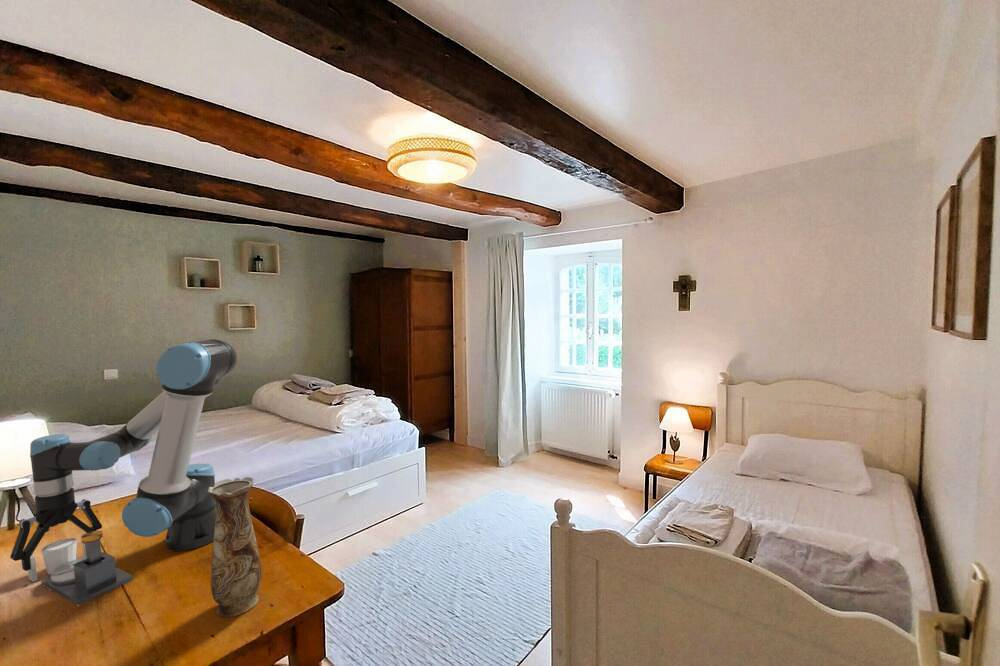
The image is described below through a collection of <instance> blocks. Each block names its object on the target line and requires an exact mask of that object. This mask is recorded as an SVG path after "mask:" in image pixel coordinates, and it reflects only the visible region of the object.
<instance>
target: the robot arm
mask: <svg viewBox="0 0 1000 666" xmlns="http://www.w3.org/2000/svg"><path fill="white" fill-rule="evenodd" d="M237 355H238V354H237V352H236V350H235V348H234V347H233V346H232V345H231V344H230V343H228V342H226V341H224V340H221V339H216V338H215V339H213V338H211V339H206V340H198V341H186V342H182V343H180V344H176V345H173V346H171V347H169V348H167V349H165V350H164V351H163V352H162V353H161V355H160V356H159V358H158V359H157V361H156V368H155V369H156V370H155V371H156V376H157V377H159V381H160V382H161V383H162V385H161V390H162V392H161V393H160V394H159V395H157V396H156V397H155V398H154V399H153V400H152V401H151V402H150V403H149V404H147V405H146V406H145V407H144V408H143V409H142V410H140V411H139V412H138V413H137V414H136V415H134V417H132V419H130V420H129V421H128V422H127V423H126V424H125V425H123V426H122V427H121V428H120V429H119V430H117V431H115V432H112V433H110V434H106V435H105V436H101V437H99V438H96V439H94V440H90V441H85V442H81V441H80V442H71V439H70V436H69V435H68V434H64V433H59V434H57V433H56V434H51V435H50V434H49V435H46V436H41V437H38V438H35V439H34V440H32V441H31V442H30V451H29V452H30V453H29V457H30V462H31V463H30V464H31V471H32V482H33V483H32V484H33V492H34V493H33V494H34V495H35V496H34V502H35V503H34V505H35V514H34V516H33V517H30V518H27V519H25V518H22V519H20V520H19V521H18V522H19V523H18V524H19V531H18V533H17V536H16V539H15V543H14V545H13V548H12V550H11V553H10V558H9V559H11V560H13V561H15V562H17V561H21V567H22V568H21V569H22V570H24V571H26V572H27V574H28V580H29V581H32V583H33V582H36V581H38V577H37V566H36V556H35V555H33V554H34V551H35V550H36V549H37V548H38V546H39V543H40V542H41V541H42V539H43V537H44V536H45V534H46V533H47V532H48V531H49V529H50V528H53V527H55V526H57V525H58V526H59V524H65V523H67V522H68V521H69V522H71V523H72V524H73V525H75V526H76V527H78V528H79V529H80V530H81V531H83V532H84V534H81V537H82V536H83V535H85V534H87V533H90V532H93V531H99V530H100V529H102V528H103V525H102V523H101V522H100V520H99V519H98V517H97V515H96V514H95V512H94V511H93V509H92V508H91V507H92V505H91V500H88V499H86V498H84V499H82V500H81V501H78V502H76V501H75V499H76V498H75V489H74V488H73V486H74V478H73V472H74V471H89V472H91V471H95V472H96V471H101V470H102V471H103V470H108V469H110V468H113V466H115V464H116V463H118V461H119V459H121V458H123V457H124V456H127V455H129V454H132V453H134V452H137V451H139V450H142V448H144V447H146V446H147V445H149V444H150V442H151V441H152V437H153V436H154V435H155V434H156V433H157V437H156V441H155V445H154V450H153V453H152V456H151V457H152V458H151V461H150V466H149V470H148V475H147V476H145V477H143V478H142V479H141V480H140V481H139V483H138V487H137V491H136V495H135V496H134V498H132V499H131V500H129V501H128V502H127V503H126V504H125V506H124V507H123V509H122V512H121V519H122V520H121V521H122V522H123V525H124V526H125V527H126V528H127V529H128V531H129V532H131V534H134V535H135V536H139V537H145V538H150V537H155V536H158V535H160V534H162V533H163V532H165V531H167V532H166V535H165V539H164V543H165V545H164V546H165V548H166V549H167V550H169V551H172V552H183V551H189V550H194V549H197V548H200V547H203V546H206V545H208V544H211V543H212V542H214V532H215V519H216V502H215V499H214V498H213V497H212V496H211V495H210V494H209V493H208V492H207V491H208V489H209V487H214V484H215V483H216V482H215V481H216V480H215V477H216V476H215V470H214V466H213V465H212V464H209V463H191V464H190V460H191V456H192V453H193V449H194V444H195V440H196V436H197V432H198V429H199V423H200V420H201V416H202V412H203V408H204V404H205V399H207V397H209V396H211V395H212V394H213V392H214V389H215V386H216V385H218V384H219V383H220V382H221V381H223V379H225V378H226V377H227V376H229V375H230V374H231V373H232V372H233V371H234V370H235V367H236V366H237V362H238V356H237ZM77 508H78V509H80V510H82V512H83V513H84V515H85V517H86V518H87V520H88V521H89V523H90V524H91V526H90V525H87V524H86V523H85V522H83V521H82V520H81V519H80V518H78V517H77V516H75V515H74V513H75V512H76V510H77ZM35 522H37V523H38V524H37V526H36V528H35V529H36V530H35V531H34V533H33V534H32V536H31V537H30V539H29V541H28V537H29V534H30V531H31V527H33V526H34V523H35ZM27 541H28V542H27ZM26 543H27V544H26ZM82 547H83V557H86V548H85V543H82Z"/></svg>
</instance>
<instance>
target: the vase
mask: <svg viewBox="0 0 1000 666" xmlns="http://www.w3.org/2000/svg"><path fill="white" fill-rule="evenodd" d="M254 482H255V479H254V477H250V476H246V477H244V478H240V477H235V479H233V480H231V478H230V479H229V478H226V479H221V480H219V481H216V482H215V484H214V487H209V489H208V491H207V492H208V493H209V494H210V495H211V496H212V497H213V498H214V499H215V502H216V519H215V532H214V541H213V545H212V554H211V557H212V558H211V566H210V567H211V568H210V588H211V589H210V590H211V595H212V598H213V600H214V602H215V603H217V604H218V607H217V609H216V614H217V616H219V617H221V618H232V617H236V616H239V615H242V614H245V613H246V612H248V611H249V610H251V609H253V608H255V606H256V605H257V603H258V602H259V600H260V595H259V594H258V593H257V592H258V590H259V588H260V586H261V581H262V562H261V556H260V551H259V547H258V543H257V539H256V534H255V533H256V532H255V530H254V526H253V521H252V515H251V510H250V506H249V492H250V491H251V490H252V489H251V488H252V487H253V484H254Z"/></svg>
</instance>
